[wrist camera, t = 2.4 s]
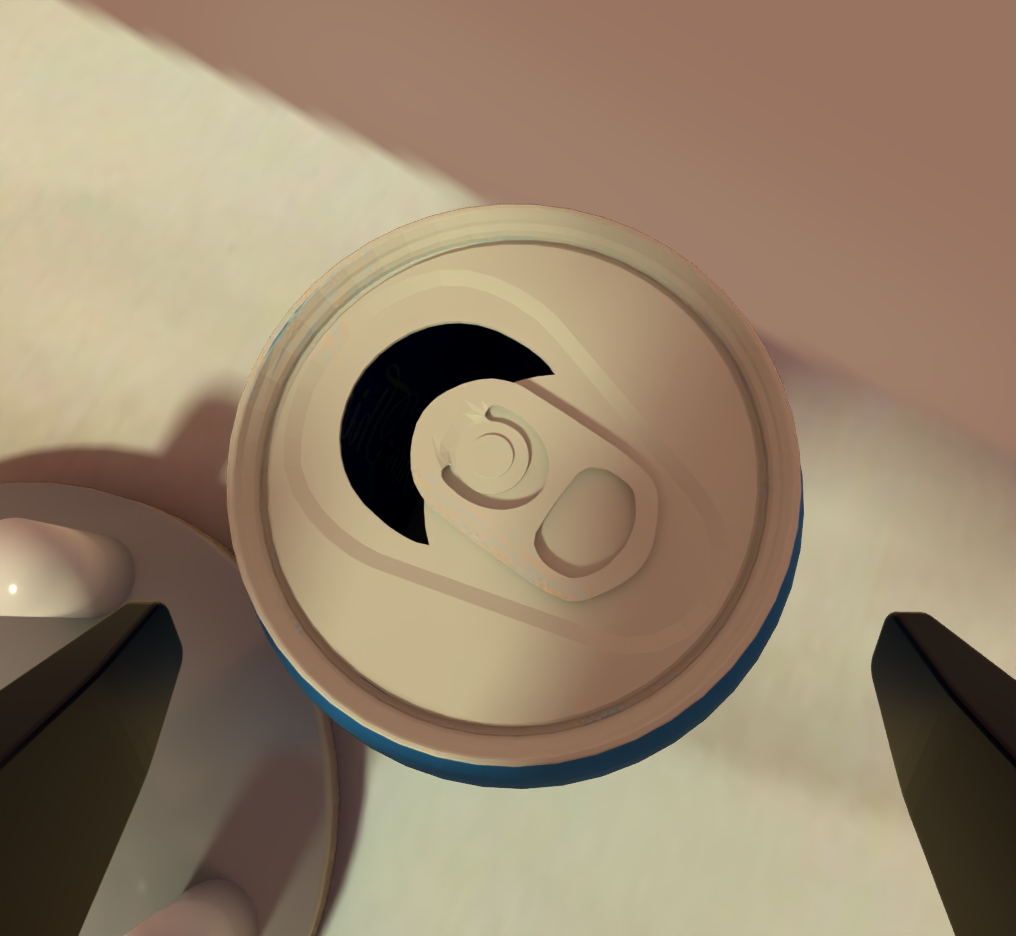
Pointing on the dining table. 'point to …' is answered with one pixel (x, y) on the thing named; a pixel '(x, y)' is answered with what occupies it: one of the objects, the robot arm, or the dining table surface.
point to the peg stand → (183, 719)
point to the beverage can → (516, 495)
